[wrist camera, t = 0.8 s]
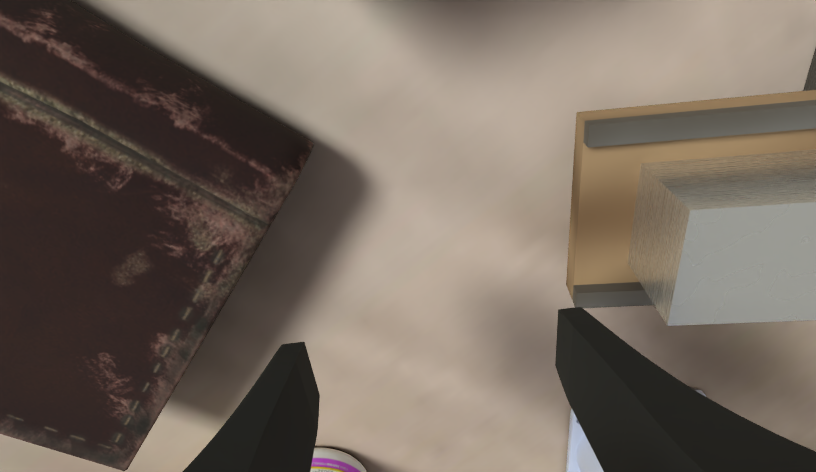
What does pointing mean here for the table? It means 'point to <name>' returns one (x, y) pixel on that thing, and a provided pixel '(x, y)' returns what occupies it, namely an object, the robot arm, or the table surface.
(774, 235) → the block
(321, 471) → the supplement bottle
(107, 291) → the diary
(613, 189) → the beam
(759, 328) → the table surface
